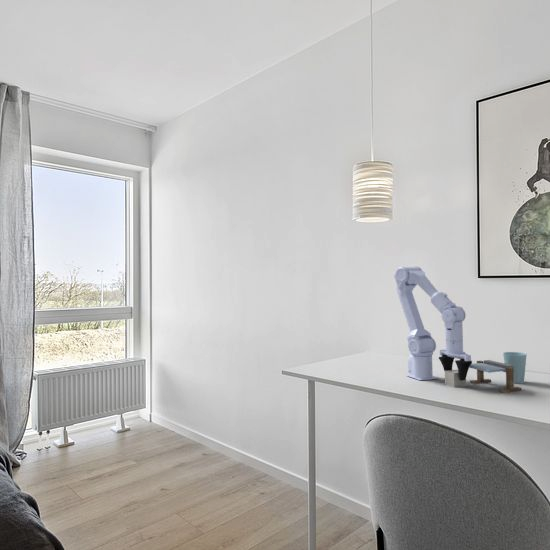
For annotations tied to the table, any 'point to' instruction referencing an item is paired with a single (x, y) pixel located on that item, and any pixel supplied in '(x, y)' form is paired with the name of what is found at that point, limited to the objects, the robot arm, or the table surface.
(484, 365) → the trapdoor
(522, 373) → the cup
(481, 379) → the stand
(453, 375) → the stone
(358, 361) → the table surface
